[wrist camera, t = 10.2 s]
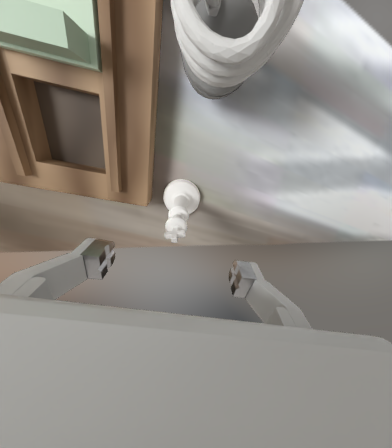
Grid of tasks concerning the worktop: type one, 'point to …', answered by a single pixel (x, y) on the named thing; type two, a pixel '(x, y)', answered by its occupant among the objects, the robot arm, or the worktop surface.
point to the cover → (53, 30)
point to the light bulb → (229, 39)
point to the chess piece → (179, 207)
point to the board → (86, 112)
